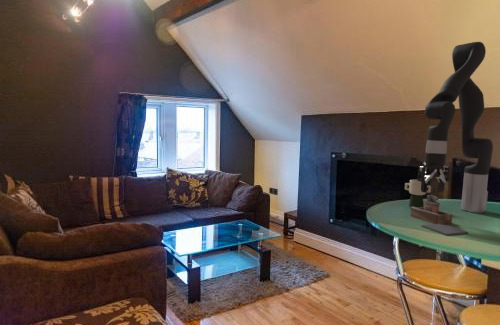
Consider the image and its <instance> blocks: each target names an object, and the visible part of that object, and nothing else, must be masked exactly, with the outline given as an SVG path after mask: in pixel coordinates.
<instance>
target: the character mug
mask: <svg viewBox="0 0 500 325" xmlns="http://www.w3.org/2000/svg"><path fill="white" fill-rule="evenodd" d="M404 190H405V191H408V192H409V194H411V196H410V197H409V203H408V206H409V207H410V208H411V207H416V208H417V207H424V203H425V202H424V197H423V196H424V195H426V194H429V193H431V192H432V185H429V184H428V185H427V192H426V193H424V192H422V191H421V182H420V181H417V179H410V180H409V182H405V183H404Z"/></svg>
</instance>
